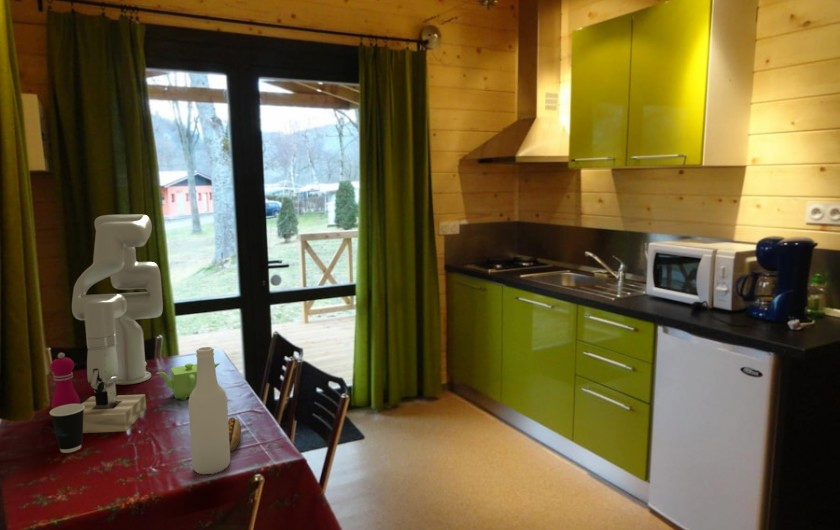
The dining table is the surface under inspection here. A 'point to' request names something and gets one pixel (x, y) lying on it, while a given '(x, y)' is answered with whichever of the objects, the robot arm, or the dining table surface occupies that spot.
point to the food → (234, 432)
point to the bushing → (110, 393)
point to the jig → (113, 414)
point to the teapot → (182, 380)
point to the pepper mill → (63, 382)
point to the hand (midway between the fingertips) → (106, 400)
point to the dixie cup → (68, 426)
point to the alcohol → (208, 418)
